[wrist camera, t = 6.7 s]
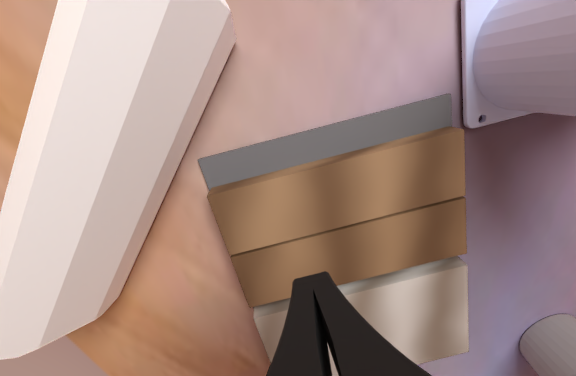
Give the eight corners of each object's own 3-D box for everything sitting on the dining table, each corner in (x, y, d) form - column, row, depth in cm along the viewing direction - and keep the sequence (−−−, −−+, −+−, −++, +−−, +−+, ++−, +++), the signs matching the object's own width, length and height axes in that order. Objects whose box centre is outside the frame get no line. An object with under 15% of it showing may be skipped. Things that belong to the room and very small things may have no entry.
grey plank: (454, 253, 22) (467, 265, 20) (457, 336, 25) (468, 351, 23) (254, 303, 22) (253, 318, 21) (282, 379, 25) (283, 396, 24)
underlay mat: (447, 93, 18) (450, 93, 18) (457, 333, 25) (459, 336, 25) (198, 158, 18) (197, 159, 18) (280, 376, 25) (280, 380, 25)
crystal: (112, 364, 19) (290, 2, 12) (-52, 394, 14) (100, -172, 8) (106, 280, 24) (230, -5, 17) (-15, 282, 19) (95, -111, 13)
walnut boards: (449, 126, 18) (464, 129, 17) (453, 242, 21) (466, 253, 20) (211, 187, 18) (207, 196, 17) (250, 293, 22) (249, 307, 20)
